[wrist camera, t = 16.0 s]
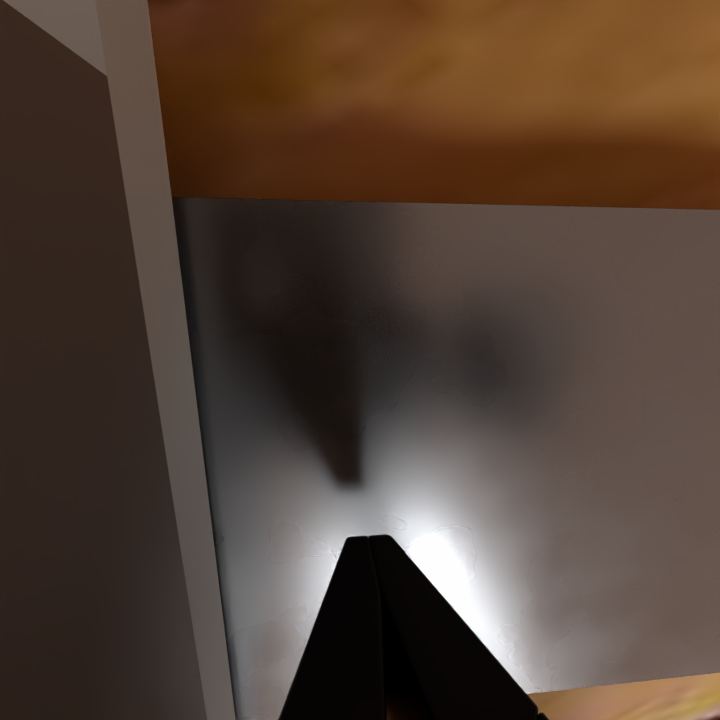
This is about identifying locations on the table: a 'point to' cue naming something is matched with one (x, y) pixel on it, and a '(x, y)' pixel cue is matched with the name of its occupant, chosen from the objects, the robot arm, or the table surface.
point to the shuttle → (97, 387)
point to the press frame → (463, 424)
